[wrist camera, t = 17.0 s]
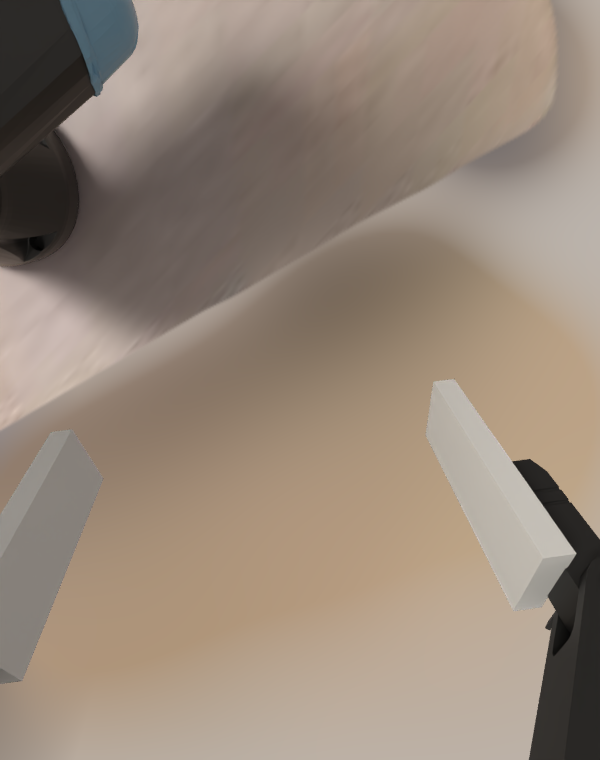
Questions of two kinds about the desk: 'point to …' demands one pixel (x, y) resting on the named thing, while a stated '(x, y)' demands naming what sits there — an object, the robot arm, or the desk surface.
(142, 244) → the desk surface
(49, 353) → the desk surface
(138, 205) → the desk surface
